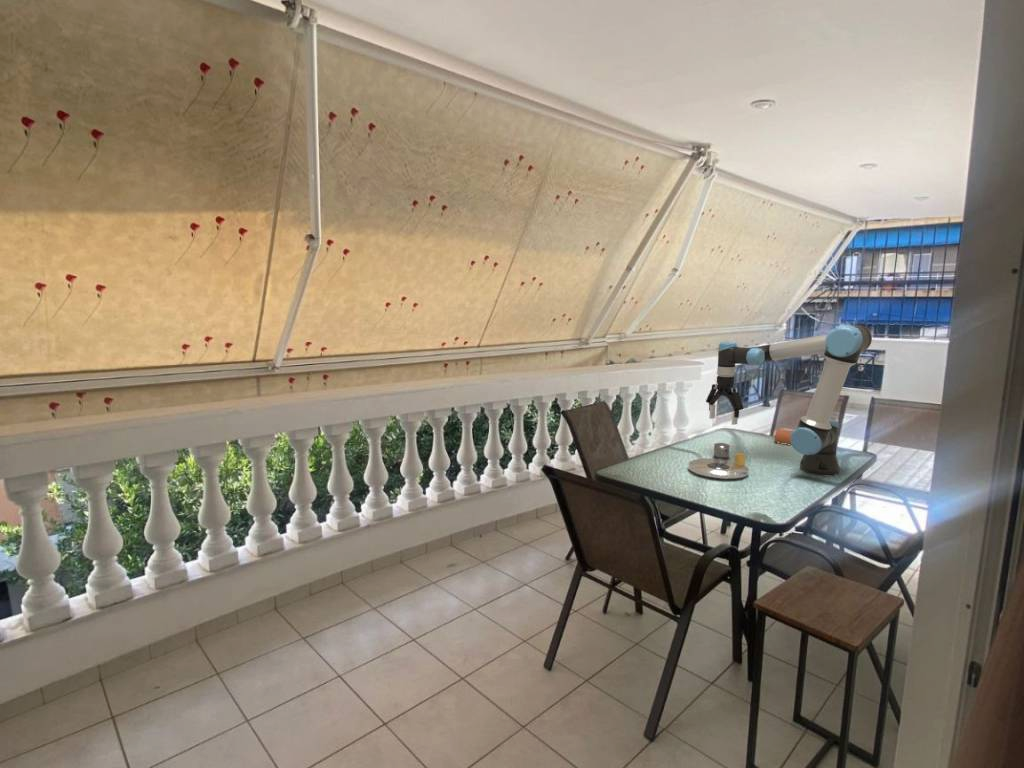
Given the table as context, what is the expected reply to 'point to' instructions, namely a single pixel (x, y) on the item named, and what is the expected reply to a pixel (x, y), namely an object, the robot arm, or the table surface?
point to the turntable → (720, 467)
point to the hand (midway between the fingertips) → (723, 421)
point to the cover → (721, 451)
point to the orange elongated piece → (783, 436)
